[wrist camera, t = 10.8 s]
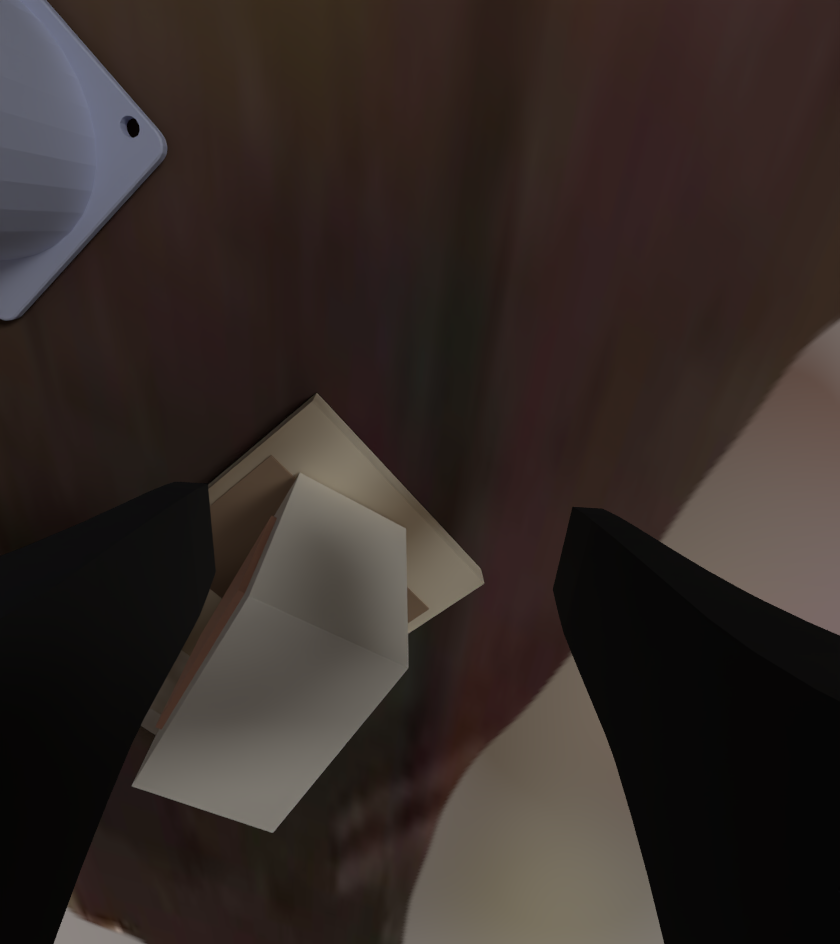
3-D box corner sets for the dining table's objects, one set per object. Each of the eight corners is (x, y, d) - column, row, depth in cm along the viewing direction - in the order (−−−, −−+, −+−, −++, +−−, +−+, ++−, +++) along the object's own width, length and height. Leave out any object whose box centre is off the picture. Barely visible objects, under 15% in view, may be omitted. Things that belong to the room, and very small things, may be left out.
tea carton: (206, 620, 22) (124, 784, 15) (295, 469, 19) (241, 592, 12) (308, 664, 23) (272, 833, 16) (406, 528, 20) (408, 667, 14)
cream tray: (88, 585, 22) (27, 656, 18) (316, 392, 19) (296, 432, 15) (263, 713, 25) (240, 794, 22) (480, 569, 22) (496, 635, 19)
